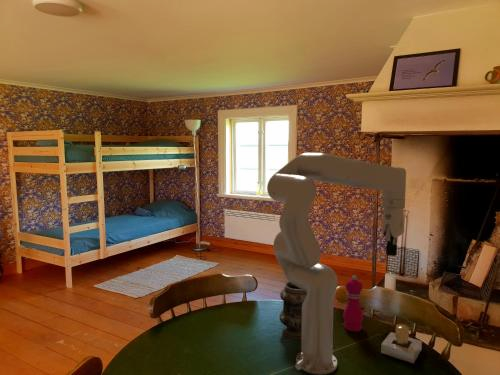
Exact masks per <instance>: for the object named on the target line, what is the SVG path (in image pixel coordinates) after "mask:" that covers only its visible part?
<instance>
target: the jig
mask: <svg viewBox="0 0 500 375" xmlns="http://www.w3.org/2000/svg"><path fill="white" fill-rule="evenodd" d="M422 344H423V341H422V340H419V339H416V338H413V337H410V336H409V338H408V348H405V347H401V346H398V345H395V332H392V331H391V332H390V333H389V334H388V335H387V336H386V337H385V339H384V340H383V341H382V342H381V344H380V346H381V347H380V353H381V354H383V355H387V356H390V357H393V358H396V359H399V360H401V361H405V362H408V363H411V364H415V362H416V360H417V358H418V356H419V355H420V352H422V346H423V345H422Z"/></svg>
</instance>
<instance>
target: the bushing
mask: <svg viewBox="0 0 500 375" xmlns="http://www.w3.org/2000/svg"><path fill="white" fill-rule="evenodd" d="M394 333H395V345H398V346H401V347H405V348H408V338H409V337H410V335H409V334H410V326H407V325H406V324H402V323H400V324H399V323H397V324H396V325H395V332H394Z"/></svg>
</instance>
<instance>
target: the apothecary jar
mask: <svg viewBox="0 0 500 375" xmlns="http://www.w3.org/2000/svg"><path fill="white" fill-rule="evenodd" d="M279 294H280V295H279V296H280V299H281V300H282V301H283V302H282V303H283V307H282V310H281V311H280V313H279V321H280V323H282V325H283V326H284V327H283V328H282V331H281V332H282V334H283V336H284V337H287V338H289V339H293V340H301V330H302V304H303V301H304V300H305V298H306V296H307V292H306V291H304V290H303V289H301V288H299V287H297V286H295V285H293V284H291V283H290V282H289V281H287V282H285V284H284V288H283V289H281V291H280V292H279Z"/></svg>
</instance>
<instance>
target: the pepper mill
mask: <svg viewBox="0 0 500 375" xmlns="http://www.w3.org/2000/svg"><path fill="white" fill-rule="evenodd" d="M345 289H346V291H347V292H346V296H347V304H346V305H345V308H344V310H343V313H342V318H343V319H344V324H343V326H344V328H345V329H346V330H347V331H349V332H360V331H362V326H363V325H362V322H363V320H364V313H363V310H362V309H361V305H360V298H361V295H362V293H361V292H362V291H363V284H362V281H361V280H359V279H358V277H357V275H356V274H355V275H352V276H351V278H350V279H348V280H347V281H346V283H345Z"/></svg>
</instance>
